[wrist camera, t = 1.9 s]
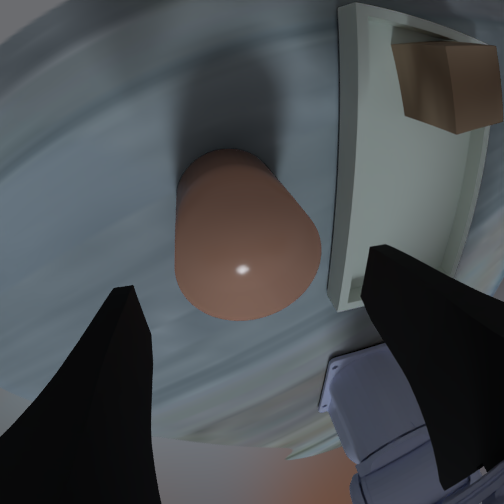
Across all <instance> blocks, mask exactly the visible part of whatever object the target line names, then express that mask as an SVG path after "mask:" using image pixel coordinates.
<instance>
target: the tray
mask: <svg viewBox="0 0 504 504" xmlns="http://www.w3.org/2000/svg"><path fill="white" fill-rule="evenodd" d="M338 26H339V52H340V132H339V159H338V179H337V195H336V209H335V222H334V234H333V244H332V255H331V264H330V273H329V282H328V290H327V295H328V297H329V299H330V301H331V302H332V304H333V306H334V307H335V309H336V311H337V313H338V312H342V311H346V310H350V309H354V308H358V307H362V306H364V304H363V301H362V299H361V297H360V295H361V290H362V285H363V280H364V275H365V270H366V265H367V259H368V254H369V248H370V247H371V246H377V245H383V244H387V245H389V246H392V247H394V248H396V249H398V250H400V251H402V252H404V253H406V254H408V255H410V256H412V257H414V258H416V259H418V260H420V261H421V262H423V263H425V264H427V265H429V266H431V267H433V268H434V269H436V270H438V271H440V272H442V273H444V274H446V275H447V276H449V277H451V278H453V279H454V276H455V273H456V270H457V268H458V265H459V262H460V259H461V256H462V253H463V249H464V246H465V243H466V240H467V236H468V233H469V229H470V226H471V222H472V218H473V215H474V211H475V207H476V203H477V198H478V194H479V190H480V185H481V180H482V175H483V170H484V164H485V159H486V153H487V146H488V139H489V131H490V125H489V126H486V127H482V128H479V129H475V130H471V131H468V132H465V133H461V134H458V135H456V134H453V133H451V132H448V131H445V130H443V129H440V128H438V127H435V126H432V125H429V124H427V123H424V122H421V121H418V120H415V119H412V118H409V117H406V116H405V115H404V108H403V102H402V96H401V91H400V85H399V80H398V75H397V70H396V66H395V61H394V57H393V52H392V48H391V44H400V43H412V42H426V41H455V42H467V43H477V44H485V45H488V44H486V43H484V42H482V41H479V40H477V39H475V38H473V37H470V36H468V35H465V34H463V33H461V32H458V31H456V30H453V29H450V28H448V27H445V26H442V25H439V24H437V23H434V22H431V21H428V20H425V19H421V18H418V17H415V16H412V15H408V14H405V13H401V12H397V11H393V10H390V9H385V8H381V7H377V6H372V5H368V4H363V3H358V2H354V3H351V4H348V5H344V6H341V7H338Z"/></svg>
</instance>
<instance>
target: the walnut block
mask: <svg viewBox="0 0 504 504" xmlns="http://www.w3.org/2000/svg"><path fill="white" fill-rule="evenodd" d="M391 48H392V52H393V57H394V61H395V66H396V70H397V75H398V80H399V85H400V91H401V96H402V102H403V108H404V115H405V116H406V117H409V118H412V119H415V120H418V121H421V122H424V123H427V124H429V125H432V126H435V127H438V128H440V129H443V130H445V131H448V132H451V133H453V134H456V135H458V134H461V133H465V132H468V131H471V130H475V129H479V128H482V127H486V126H489V125H493V124H497V123H500V122H503V104H502V90H501V79H500V70H499V63H498V56H497V49H496V46H493V45H485V44H477V43H467V42H455V41H426V42H412V43H400V44H391Z"/></svg>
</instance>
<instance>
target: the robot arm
mask: <svg viewBox="0 0 504 504" xmlns="http://www.w3.org/2000/svg"><path fill="white" fill-rule="evenodd" d="M360 297H361V299H362V301H363V304H364V306H365V308H366V310H367V312H368V314H369V317H370V319H371V321H372V322H373V324H374V326H375V327H376V329H377V331H378V332H379V334H380V335H381V337H382V339H383V340H384V342H385V343H383V344H379V345H376V346H373V347H370V348H366V349H363V350H360V351H356V352H353V353H349V354H346V355H342V356H339V357H335V358H333V359H331V360H330V361H329V364H328V369H327V373H326V378H325V382H324V386H323V391H322V395H321V399H320V403H319V407H318V411H319V412H320V413H322V412H326V411H328V412H329V414H330V417H331V419H332V422H333V424H334V427H335V429H336V431H337V434H338V436H339V439H340V441H341V444H342V446H343V449H344V451H345V453H346V455H347V456H348V458H349V459H350V460H352V461H353V462H354V463H356V464H357V465H356V468H357V471H358V473H357V474H355V475H354V476H353V477H352V481H351V483H350V495H351V499H352V502H353V504H479V503H480V502H482V504H504V302H503V301H500V300H498V299H496V298H493V297H491V296H489V295H486V294H484V293H482V292H479V291H477V290H475V289H473V288H471V287H469V286H467V285H465V284H463V283H461V282H459V281H457V280H455V279H453V278H451V277H449V276H447V275H446V274H444V273H442V272H440V271H438V270H436V269H434V268H433V267H431V266H429V265H427V264H425V263H423V262H421V261H420V260H418V259H416V258H414V257H412V256H410V255H408V254H406V253H404V252H402V251H400V250H398V249H396V248H394V247H392V246H389V245H387V244H383V245H377V246H371V247H370V248H369V254H368V259H367V265H366V270H365V275H364V280H363V285H362V290H361V295H360ZM152 377H153V354H152V338H151V332H150V330H149V327H148V325H147V322H146V319H145V317H144V314H143V311H142V309H141V306H140V303H139V300H138V297H137V295H136V292H135V289H134V286H133V285H131V286H124V287H117V288H113V290H112V291H111V293H110V294H109V296H108V297H107V299H106V300H105V302H104V303H103V305H102V306H101V308H100V309H99V311H98V312H97V314H96V315H95V317H94V318H93V320H92V322H91V323H90V325H89V326H88V328H87V329H86V331H85V332H84V334H83V335H82V337H81V338H80V340H79V341H78V343H77V344H76V346H75V347H74V349H73V350H72V351H71V353H70V354H69V356H68V357H67V359H66V360H65V362H64V363H63V364H62V366H61V367H60V369H59V370H58V371H57V373H56V374H55V375H54V377H53V378H52V379H51V381H50V382H49V383H48V384H47V386H46V387H45V388H44V389H43V391H42V392H41V393H40V394H39V396H38V397H37V398H36V399H35V400H34V401H33V403H32V404H31V405H30V406H29V407H28V408H27V409H26V410H25V412H24V413H23V414H22V415H21V416H20V417H19V418H18V419H17V420H16V421H15V423H14V424H13V425H12V426H11V427H10V428H9V429H8V430H7V431H6V432H5V433H4V434H3V435H2V436H1V437H0V504H161V500H160V495H159V490H158V484H157V479H156V473H155V466H154V459H153V452H152V451H153V450H152V442H151V403H152ZM483 466H484V467H485V469H486V471H487V473H486V474H485V475H483V476H482V474H481V472H480V470H479V469H480V468H482V467H483Z"/></svg>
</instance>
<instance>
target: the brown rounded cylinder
mask: <svg viewBox="0 0 504 504" xmlns="http://www.w3.org/2000/svg"><path fill="white" fill-rule="evenodd" d="M320 259H321V241H320V237H319V234H318V231H317V229H316V227H315V225H314V223H313V222H312V220H311V219H310V218H309V216H308V215H307V214H306V213H305V211H304V210H303V209H302V208H301V206H300V205H299V204H298V203H297V202H296V200H295V199H294V198H293V197H292V195H291V194H290V193H289V192H288V191H287V189H286V188H285V187H284V186H283V185H282V183H281V182H280V181H279V180H278V179H277V177H276V176H275V175H274V174H273V173H272V172H271V170H270V169H269V168H268V167H267V166H266V165H265V163H263V162H262V161H261V160H260V159H259V158H257V157H256V156H254V155H253V154H251V153H248V152H246V151H243V150H238V149H220V150H215V151H212V152H209V153H207V154H205V155H203V156H201V157H200V158H198V159H196V160H195V161H194V162H193V163H192V164H191V165H190V166H189V167H188V168H187V169H186V171H185V172H184V174H183V175H182V177H181V179H180V182H179V185H178V188H177V197H176V223H175V275H176V279H177V282H178V285H179V287H180V289H181V291H182V293H183V294H184V296H185V297H186V298H187V300H188V301H189V302H190V303H191V304H192V305H194V306H195V307H196V308H198V309H199V310H201V311H202V312H204V313H206V314H208V315H211V316H213V317H216V318H220V319H225V320H233V321H246V320H254V319H258V318H263V317H266V316H269V315H271V314H274V313H276V312H278V311H280V310H282V309H284V308H286V307H287V306H289V305H290V304H291V303H293V302H294V301H295V300H296V299H298V298H299V297H300V296H301V295H302V294H303V293H304V292H305V291H306V289H307V288H308V287H309V285H310V284H311V282H312V281H313V279H314V277H315V275H316V273H317V270H318V267H319V264H320Z"/></svg>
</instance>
